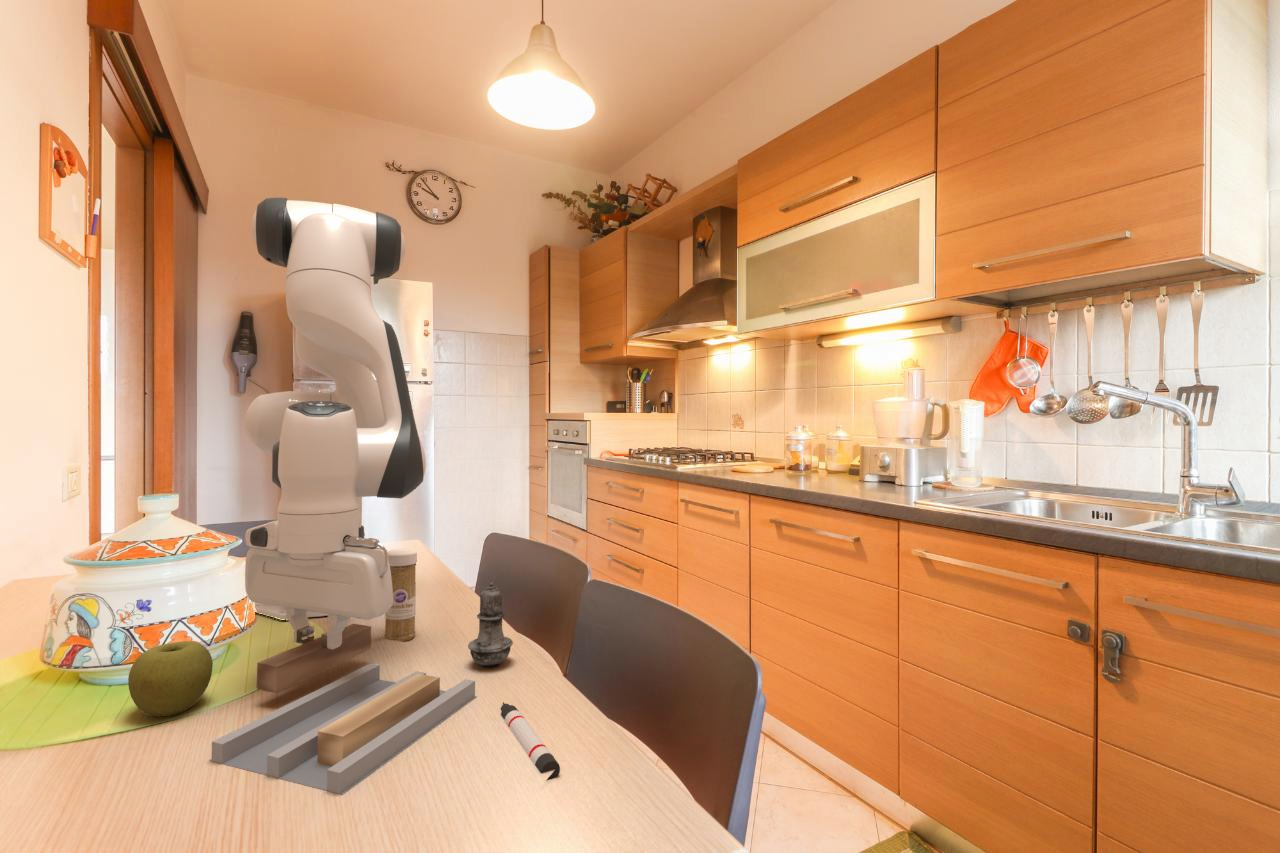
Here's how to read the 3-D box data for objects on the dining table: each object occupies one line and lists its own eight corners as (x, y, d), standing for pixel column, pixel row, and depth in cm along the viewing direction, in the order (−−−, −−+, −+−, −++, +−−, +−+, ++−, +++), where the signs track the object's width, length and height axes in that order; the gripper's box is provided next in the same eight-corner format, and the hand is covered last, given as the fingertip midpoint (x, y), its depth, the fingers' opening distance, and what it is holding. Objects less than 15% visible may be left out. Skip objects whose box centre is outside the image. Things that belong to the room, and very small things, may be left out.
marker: (560, 779, 55) (560, 758, 55) (540, 785, 54) (540, 763, 54) (510, 711, 69) (511, 694, 69) (494, 715, 68) (494, 698, 68)
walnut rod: (256, 689, 67) (257, 662, 67) (353, 645, 80) (353, 623, 80) (276, 693, 66) (277, 666, 66) (370, 648, 79) (371, 626, 79)
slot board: (209, 768, 56) (209, 741, 56) (368, 684, 75) (368, 663, 75) (342, 803, 51) (342, 773, 51) (477, 703, 70) (477, 681, 70)
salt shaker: (501, 681, 76) (502, 587, 76) (459, 676, 77) (460, 585, 77) (519, 663, 82) (520, 576, 82) (480, 660, 83) (481, 574, 83)
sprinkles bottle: (387, 645, 88) (388, 555, 89) (381, 636, 92) (382, 550, 92) (419, 639, 91) (420, 551, 91) (411, 630, 95) (412, 547, 95)
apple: (216, 689, 73) (217, 631, 73) (206, 717, 66) (207, 653, 66) (137, 703, 69) (138, 641, 69) (118, 733, 62) (119, 665, 62)
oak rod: (317, 763, 56) (317, 731, 56) (417, 699, 69) (418, 673, 69) (342, 769, 55) (342, 736, 55) (439, 703, 68) (439, 677, 68)
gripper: (405, 535, 72) (404, 647, 73) (280, 522, 79) (279, 625, 79) (366, 545, 66) (365, 667, 67) (234, 530, 73) (233, 642, 73)
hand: (317, 644), depth 73 cm, fingers closed on walnut rod, 3 cm apart
